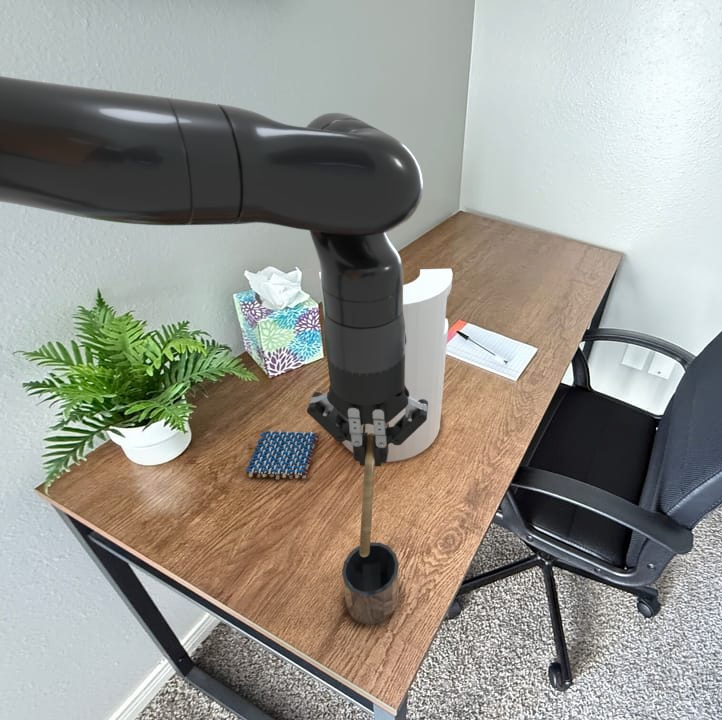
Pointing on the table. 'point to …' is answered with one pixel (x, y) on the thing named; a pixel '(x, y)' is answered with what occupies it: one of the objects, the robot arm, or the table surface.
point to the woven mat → (283, 454)
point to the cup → (371, 583)
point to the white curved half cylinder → (422, 356)
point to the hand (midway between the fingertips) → (372, 460)
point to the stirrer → (367, 496)
